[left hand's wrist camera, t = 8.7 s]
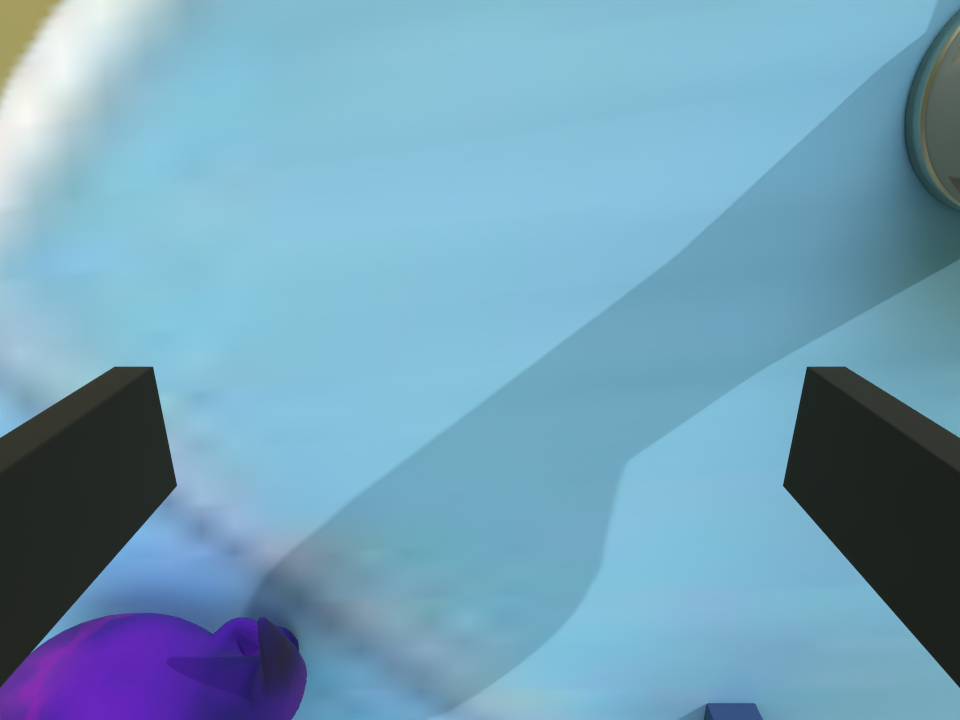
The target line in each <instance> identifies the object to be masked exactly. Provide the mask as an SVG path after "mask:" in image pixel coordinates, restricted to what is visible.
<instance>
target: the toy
mask: <svg viewBox="0 0 960 720" xmlns="http://www.w3.org/2000/svg"><path fill="white" fill-rule="evenodd" d="M306 677H307V672H306V666H305V663H304V660H303V659H302V657H301V655H300V653H299V646H298V641H297V639H296V638H295V636H294V635H293V634H292V633H291V632H290V631H288V630H287V629H286V628H283V627H278V626H275V625H273V624H272V623H271V622H270V621H269V620H268V619H266V618H260V619H259V620H258V622H257V621H254V620H252V619H248V618H235V619H232V620H230V621H228V622H227V623H225V624H224V625H223V626H222V627H221V628H220V629H219V630H217V631H216V632H215V633H214V634H211V633H210V632H208V631H207V630H205V629H203V628H201V627H200V626H198V625H196V624H193V623H191V622H188V621H186V620H183V619H181V618H177V617H173V616H168V615H163V614H155V613H131V614H119V615H110V616H106V617H101V618H97V619H93V620H90V621H87V622H84V623H81V624H79V625H76V626H74V627H72V628H69V629H67V630H65V631H63V632H61V633H60V634H58V635H56V636H54V637H53V638H51V639H49V640H48V641H46V642H45V643H43V644H42V645H41V646H39V647H38V648H37V649H35V650H34V651H33V652H32V653H31V654H29V655H28V657H27V658H26V659H25V660H24V661H23V662H22V663H21V665H20V666H19V667H18V668H17V669H16V670H15V671H14V673H13V674H12V675H11V676H10V677H9V678H8V679H7V681H6V682H5V683H4V684H3V685H2V686H1V687H0V720H291V719H292V718H293V716H294V715H295V713H296V711H297V710H298V708H299V705H300V703H301V701H302V698H303V694H304V690H305V685H306Z"/></svg>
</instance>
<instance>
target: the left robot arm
mask: <svg viewBox="0 0 960 720" xmlns="http://www.w3.org/2000/svg"><path fill="white" fill-rule="evenodd" d="M906 141H907V148H908V153H909V156H910V160H911V163H912V165H913V168H914V170H915V172H916V174H917V176H918V178H919V179H920V181H921V182H922V184H923V185H924V186H925V188H926V189H927V190H928V191H929V192H930V193H931V194H932V195H933V196H934V197H935V198H937V199H938V200H939V201H941V202H942V203H944V204H945V205H947V206H949V207H951V208H953V209H955V210H958V211H960V10H959V11H958V12H957V13H956V14H955V15H954V16H953V17H952V18H951V19H950V20H949V22H948V23H947V24H946V25H945V26H944V28H943V29H942V30H941V31H940V33H939V34H938V36H937V37H936V39H935V40H934V41H933V43H932V45H931V46H930V48H929V50H928V51H927V53H926V55H925V57H924V59H923V61H922V63H921V65H920V67H919V69H918V72H917V74H916V76H915V79H914V82H913V85H912V88H911V92H910V96H909V100H908V106H907V113H906ZM176 486H177V483H176V479H175V474H174V469H173V464H172V459H171V454H170V449H169V444H168V439H167V434H166V429H165V424H164V419H163V414H162V409H161V404H160V399H159V394H158V389H157V384H156V379H155V375H154V370H153V367H114V368H112V369H110V370H109V371H107V372H106V373H104V374H102V375H101V376H99V377H98V378H96V379H94V380H93V381H91V382H90V383H88V384H86V385H85V386H83V387H81V388H80V389H78V390H77V391H75V392H73V393H72V394H70V395H69V396H67V397H65V398H64V399H62V400H61V401H59V402H57V403H56V404H54V405H53V406H51V407H49V408H48V409H46V410H45V411H43V412H41V413H40V414H38V415H36V416H35V417H33V418H32V419H30V420H28V421H27V422H25V423H24V424H22V425H20V426H19V427H17V428H16V429H14V430H12V431H11V432H9V433H8V434H6V435H4V436H3V437H1V438H0V687H1V686H2V685H3V684H4V683H5V682H6V681H7V679H8V678H9V677H10V676H11V675H12V674H13V673H14V671H15V670H16V669H17V668H18V667H19V666H20V665H21V663H22V662H23V661H24V660H25V659H26V658H27V657H28V655H29V654H30V653H31V652H32V651H33V650H34V649H35V647H36V646H37V645H38V644H39V643H40V642H41V641H42V639H43V638H44V637H45V636H46V635H47V634H48V633H49V631H50V630H51V629H52V628H53V627H54V626H55V625H56V623H57V622H58V621H59V620H60V619H61V618H62V617H63V615H64V614H65V613H66V612H67V611H68V610H69V609H70V607H71V606H72V605H73V604H74V603H75V602H76V601H77V599H78V598H79V597H80V596H81V595H82V594H83V593H84V591H85V590H86V589H87V588H88V587H89V586H90V585H91V583H92V582H93V581H94V580H95V579H96V578H97V577H98V575H99V574H100V573H101V572H102V571H103V570H104V569H105V567H106V566H107V565H108V564H109V563H110V562H111V561H112V559H113V558H114V557H115V556H116V555H117V554H118V553H119V551H120V550H121V549H122V548H123V547H124V546H125V545H126V543H127V542H128V541H129V540H130V539H131V538H132V537H133V535H134V534H135V533H136V532H137V531H138V530H139V529H140V527H141V526H142V525H143V524H144V523H145V522H146V521H147V519H148V518H149V517H150V516H151V515H152V514H153V513H154V511H155V510H156V509H157V508H158V507H159V506H160V505H161V503H162V502H163V501H164V500H165V499H166V498H167V497H168V495H169V494H170V493H171V492H172V491H173V490H174V489H175V487H176ZM783 486H784V487H785V489H786V490H787V491H788V492H789V493H790V494H791V495H792V497H793V498H794V499H795V500H796V501H797V502H798V503H799V505H800V506H801V507H802V508H803V509H804V510H805V511H806V513H807V514H808V515H809V516H810V517H811V518H812V519H813V521H814V522H815V523H816V524H817V525H818V526H819V527H820V529H821V530H822V531H823V532H824V533H825V534H826V535H827V537H828V538H829V539H830V540H831V541H832V542H833V543H834V545H835V546H836V547H837V548H838V549H839V550H840V551H841V553H842V554H843V555H844V556H845V557H846V558H847V559H848V561H849V562H850V563H851V564H852V565H853V566H854V567H855V569H856V570H857V571H858V572H859V573H860V574H861V575H862V577H863V578H864V579H865V580H866V581H867V582H868V583H869V585H870V586H871V587H872V588H873V589H874V590H875V591H876V593H877V594H878V595H879V596H880V597H881V598H882V599H883V601H884V602H885V603H886V604H887V605H888V606H889V607H890V609H891V610H892V611H893V612H894V613H895V614H896V615H897V617H898V618H899V619H900V620H901V621H902V622H903V623H904V625H905V626H906V627H907V628H908V629H909V630H910V631H911V633H912V634H913V635H914V636H915V637H916V638H917V639H918V641H919V642H920V643H921V644H922V645H923V646H924V647H925V649H926V650H927V651H928V652H929V653H930V654H931V655H932V657H933V658H934V659H935V660H936V661H937V662H938V663H939V665H940V666H941V667H942V668H943V669H944V670H945V671H946V673H947V674H948V675H949V676H950V677H951V678H952V679H953V681H954V682H955V683H956V684H957V685H958V686H959V687H960V438H959V437H957V436H956V435H954V434H952V433H951V432H949V431H948V430H946V429H944V428H943V427H941V426H940V425H938V424H936V423H935V422H933V421H932V420H930V419H928V418H927V417H925V416H924V415H922V414H920V413H919V412H917V411H915V410H914V409H912V408H911V407H909V406H907V405H906V404H904V403H903V402H901V401H899V400H898V399H896V398H895V397H893V396H891V395H890V394H888V393H887V392H885V391H883V390H882V389H880V388H879V387H877V386H875V385H874V384H872V383H870V382H869V381H867V380H866V379H864V378H862V377H861V376H859V375H858V374H856V373H854V372H853V371H851V370H850V369H848V368H846V367H807V370H806V375H805V379H804V384H803V389H802V394H801V399H800V404H799V409H798V414H797V419H796V424H795V429H794V434H793V439H792V444H791V449H790V454H789V459H788V464H787V469H786V474H785V479H784V483H783Z"/></svg>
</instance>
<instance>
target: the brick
mask: <svg viewBox="0 0 960 720" xmlns="http://www.w3.org/2000/svg"><path fill="white" fill-rule="evenodd" d="M704 720H763V719H762V717H761V715H760V713H759V711H758V709H757V707H756V705H755V704H707V707H706V713H705V719H704Z"/></svg>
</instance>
